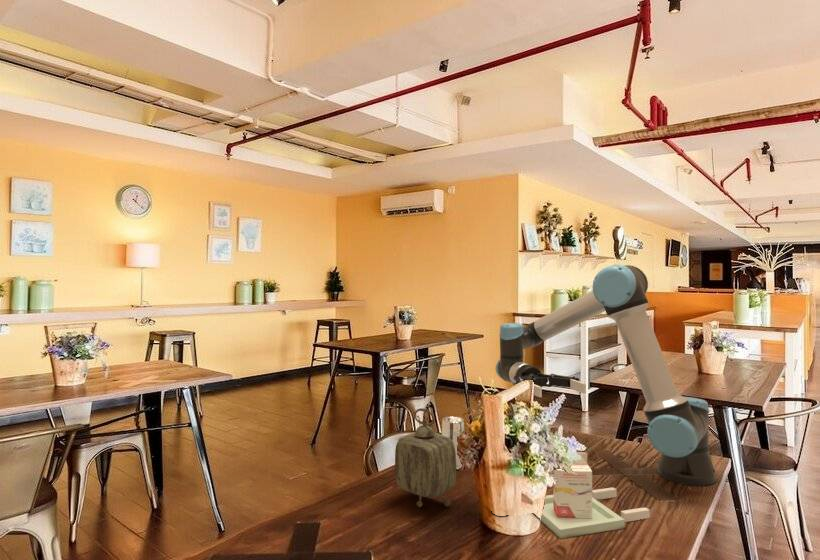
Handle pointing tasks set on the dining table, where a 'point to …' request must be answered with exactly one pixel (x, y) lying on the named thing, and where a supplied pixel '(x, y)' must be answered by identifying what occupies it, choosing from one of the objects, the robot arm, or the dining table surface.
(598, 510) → the sage tray
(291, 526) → the dining table surface
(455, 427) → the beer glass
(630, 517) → the cartridge bay
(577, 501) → the ink cartridge box
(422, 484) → the tabletop clock
